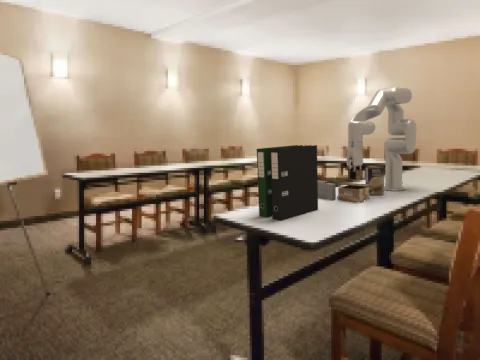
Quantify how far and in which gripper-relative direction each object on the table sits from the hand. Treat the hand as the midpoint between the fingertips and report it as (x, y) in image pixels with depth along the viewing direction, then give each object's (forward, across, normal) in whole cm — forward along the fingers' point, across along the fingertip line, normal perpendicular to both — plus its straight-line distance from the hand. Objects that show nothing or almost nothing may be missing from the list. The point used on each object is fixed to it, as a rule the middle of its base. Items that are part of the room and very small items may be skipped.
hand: (355, 178), depth 193 cm
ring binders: (+13, +44, -11) cm, 47 cm away
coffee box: (+12, -19, +2) cm, 23 cm away
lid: (+4, 0, -1) cm, 4 cm away
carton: (+12, 0, -1) cm, 12 cm away
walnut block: (+1, 0, 0) cm, 1 cm away
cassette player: (+13, +5, -17) cm, 22 cm away
